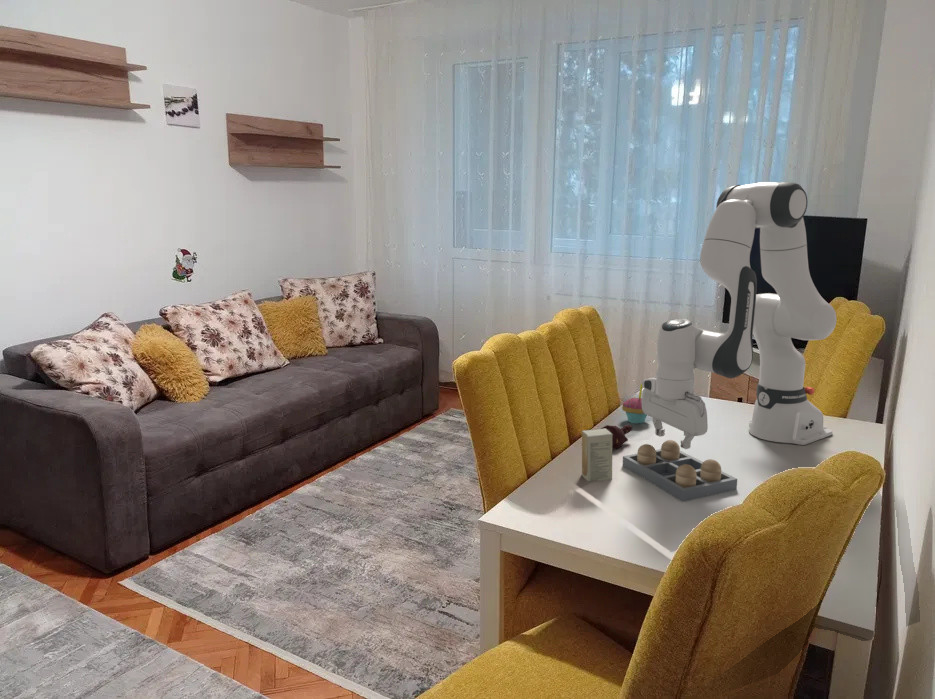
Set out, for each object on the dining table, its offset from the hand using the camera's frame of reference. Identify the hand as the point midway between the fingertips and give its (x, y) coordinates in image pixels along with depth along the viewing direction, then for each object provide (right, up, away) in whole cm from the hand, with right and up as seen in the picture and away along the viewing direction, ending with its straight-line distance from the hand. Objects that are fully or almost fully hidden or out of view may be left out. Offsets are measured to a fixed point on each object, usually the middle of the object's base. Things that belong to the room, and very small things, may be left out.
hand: (672, 441), depth 164 cm
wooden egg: (0, -6, +1) cm, 6 cm away
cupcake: (0, +1, +36) cm, 37 cm away
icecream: (-12, -4, +14) cm, 19 cm away
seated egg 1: (-7, -6, -2) cm, 10 cm away
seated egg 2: (-1, -9, -14) cm, 17 cm away
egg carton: (-1, -8, -6) cm, 11 cm away
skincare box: (-20, -9, -5) cm, 22 cm away
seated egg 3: (+5, -8, -12) cm, 15 cm away
